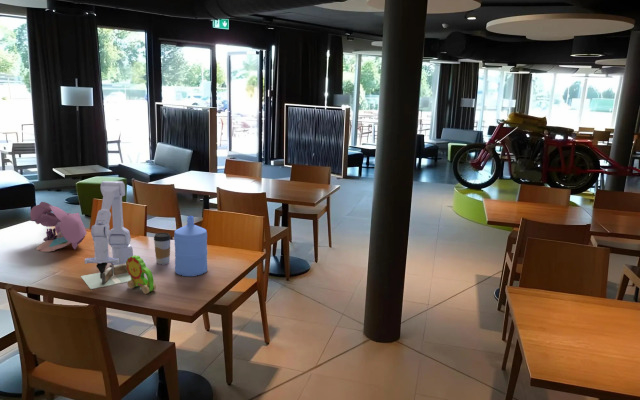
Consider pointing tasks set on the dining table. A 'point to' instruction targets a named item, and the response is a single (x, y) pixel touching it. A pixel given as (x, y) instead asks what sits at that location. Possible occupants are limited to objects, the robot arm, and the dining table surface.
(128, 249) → the robot arm
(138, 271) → the toy lion
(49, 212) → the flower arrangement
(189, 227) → the water jug
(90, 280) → the card
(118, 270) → the fixed fence section
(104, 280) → the hinged fence section
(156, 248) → the coffee cup
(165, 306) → the dining table surface
